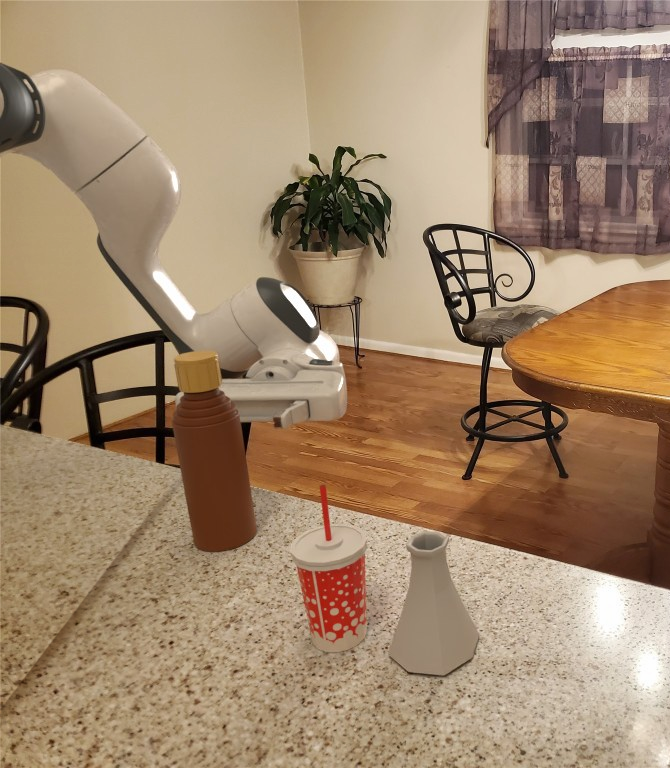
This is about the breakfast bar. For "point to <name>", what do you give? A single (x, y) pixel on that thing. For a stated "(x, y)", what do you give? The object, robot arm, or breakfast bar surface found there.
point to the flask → (432, 613)
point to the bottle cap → (198, 371)
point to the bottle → (214, 470)
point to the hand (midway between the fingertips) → (238, 423)
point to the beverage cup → (333, 582)
